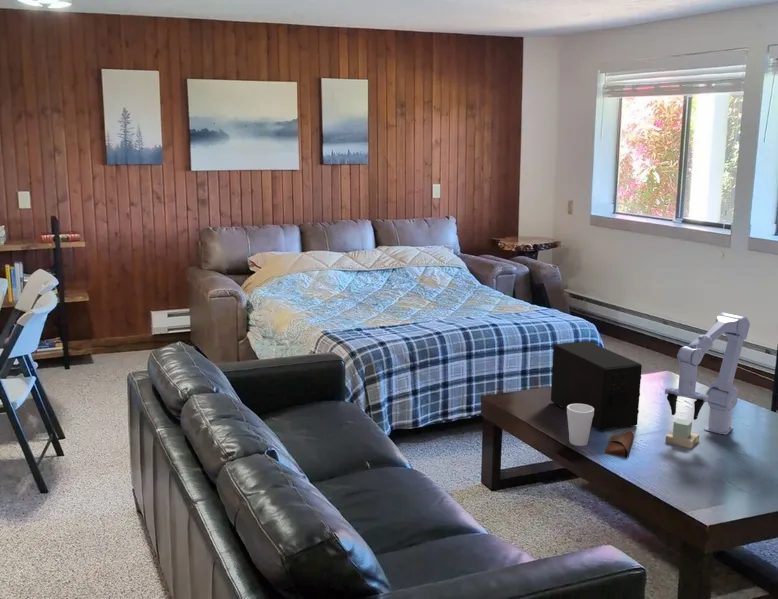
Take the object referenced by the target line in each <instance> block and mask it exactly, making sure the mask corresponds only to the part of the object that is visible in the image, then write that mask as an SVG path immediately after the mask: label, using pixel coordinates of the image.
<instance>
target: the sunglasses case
mask: <svg viewBox="0 0 778 599" xmlns="http://www.w3.org/2000/svg"><path fill="white" fill-rule="evenodd" d="M634 438H635V434H634V433H633V431H632V430H626V431H624V432H622V433H620V434H619V433H618V434H616V435H615V434H614V435H612V436H610V438H609V439H610V440H609V442H608V444H607V446H606V448H605V450H604V451H603V454H604V455H611V456H617V457H623V458H628V457H629V454H630V451H631V448H632V445H633V442H634Z"/></svg>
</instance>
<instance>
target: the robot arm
mask: <svg viewBox="0 0 778 599" xmlns="http://www.w3.org/2000/svg"><path fill="white" fill-rule="evenodd" d="M750 326H751V322H750V320H749V319H748V317H747V316H741V315H736V314H731V313H727V312H725V311H723V312H720V313H719V314H718V315H717V316H716V319H715V323H714V325H713V326H711V328H710V329H709V330H707V332H706V333H705V334H699V335H698V337H696V338H695V339H693V341H692V342H691V343H689V344H688V345H687V346H682V347H680V348H679V349H678V353H677V354H676V357H677V358H676V359H677V361H678V366H679V375H678V386H677V388H676V387H674V388H672V387H665V388H664V395H667V396H666V400H667V401H668V403H669V404H668V405H669V406H670V410H671V415H672V416H674V415H676V413H677V402H678V397H682V398H687V399H693V400H695V401H694V402H693V404H694V411H693V421H697V420H698V416H699V414H700V411H701V409H702V408H703V405H704V404H705V403H707V404H708V407H709V414H708V423H707V426H706V427H705V428H704V431H706V432H710V433H711V432H712V433H716V434H721V435H725V436H726V435H728V434H729V433H730V432H731V431H732V430H733V428H734V426H732V425H731V424H732V414H733V411H732V410H733V409H734V408H736V406H737V403H738V393H739V391H738V389H737V388H736V386H735V385H734V384H733V382H734V379H735V375H736V371H737V368H738V364H739V360H740V356H741V352H742V348H743V344H744V341H745V340H746V339H747V337H748V334H749V330H750ZM722 335H724V336H726V338H727V343H726V346H725V350H724V353H723V357H722V363H721V365H720V370H719V373H718V376H717V380H715V381H712V382H711V383H710V384H709V386H708V389H707V391H706V392H705V394H703V393H700V392H697V391H696V386H697V377H698V376H697V374H698V365H699V364H701V362H702V359H703V357H704V356H705V354H706V353H707V352H708V351H709V350H710V349H711V348H712V347H713V344H714V343H713V342H714V341H716V340H718V339H719V337H721V336H722Z"/></svg>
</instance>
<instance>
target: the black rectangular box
mask: <svg viewBox="0 0 778 599" xmlns="http://www.w3.org/2000/svg"><path fill="white" fill-rule="evenodd" d="M552 351H553V352H552V353H553V354H552V371H551V389H550V390H551V391H550V401H551V402H552V403H553V404H555V405H556V406H558V407H560V408H562V409H563V410H565V411H567V406H568V405H570V404H586V405H589V406H592V407H593V408H594V417H593V419H592V424H591V427H594V428H595V429H597V430H598V431H602V432H604V431H606V430H613V429H619V428H631V427H634V426H635V427H636V426H637V425H638V420H639V413H640V410H639V408H640V406H639V405H640V396H641V392H640V391H641V382H642V381H641V380H642V368H643V367H642V363H639V362H637V361H635V360H632V359H630V358H628V357H626V356H623V355H621V354H619V353H617V352H614V351H612V350H609V349H607V348H605V347H602V346H600V345H597V344H595V343H594V342H591V341H579V342H569V343H566V342H565V343H558V344H553V350H552Z"/></svg>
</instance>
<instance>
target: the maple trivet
mask: <svg viewBox="0 0 778 599" xmlns="http://www.w3.org/2000/svg"><path fill="white" fill-rule="evenodd" d="M664 441H665V443H666V444H671V445H675V446H679V447H684V448H687V449H692V448H693V447H694V446H696V444H698V442H699V441H700V433H695V432H692V431H691V435H690V436H689V437H688V438H687V439H686V438H681V437H677V436H673V429H672V430H671V431H669V433H667V434H666V435H665V440H664Z"/></svg>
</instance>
